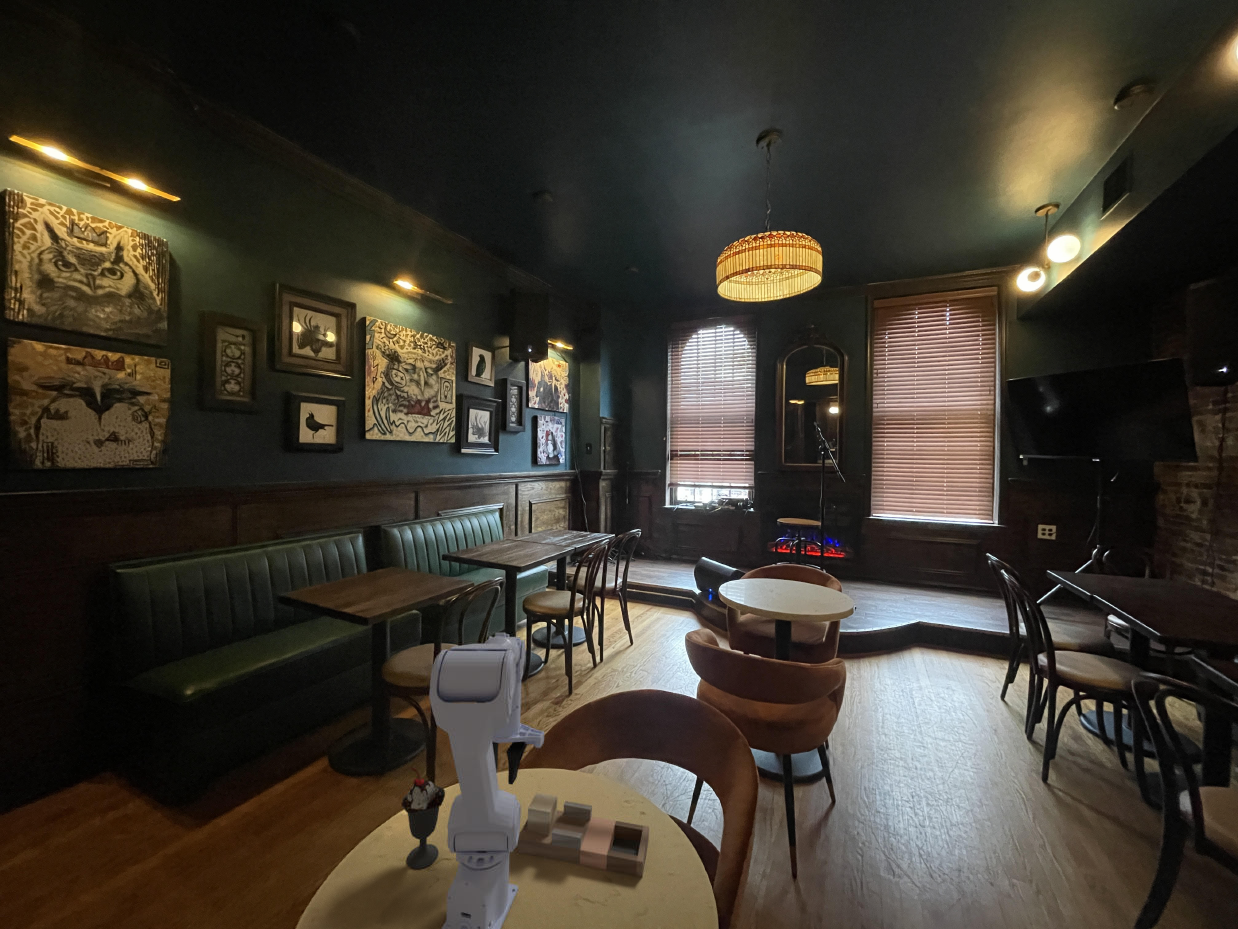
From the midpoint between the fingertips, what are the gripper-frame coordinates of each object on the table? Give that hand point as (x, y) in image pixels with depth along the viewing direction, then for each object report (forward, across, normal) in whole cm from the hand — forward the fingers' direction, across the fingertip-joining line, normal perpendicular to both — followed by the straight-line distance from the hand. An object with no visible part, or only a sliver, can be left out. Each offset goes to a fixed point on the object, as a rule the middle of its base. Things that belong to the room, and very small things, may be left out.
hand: (502, 779), depth 88 cm
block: (+7, -8, 0) cm, 10 cm away
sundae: (+10, +10, +8) cm, 16 cm away
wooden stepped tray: (+9, -15, 0) cm, 18 cm away
